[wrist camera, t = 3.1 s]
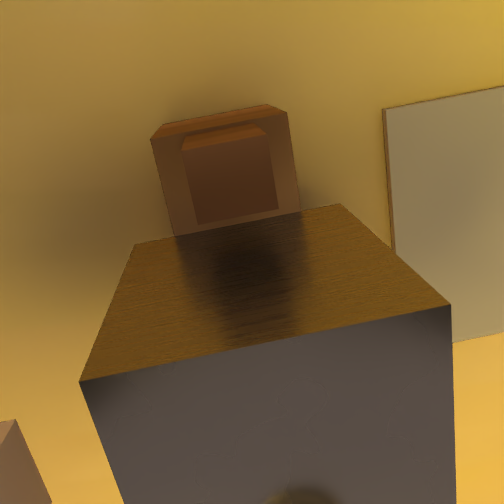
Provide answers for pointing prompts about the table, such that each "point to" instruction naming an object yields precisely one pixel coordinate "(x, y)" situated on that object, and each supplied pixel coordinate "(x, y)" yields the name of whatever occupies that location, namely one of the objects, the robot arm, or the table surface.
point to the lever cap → (275, 369)
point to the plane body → (226, 168)
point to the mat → (451, 202)
